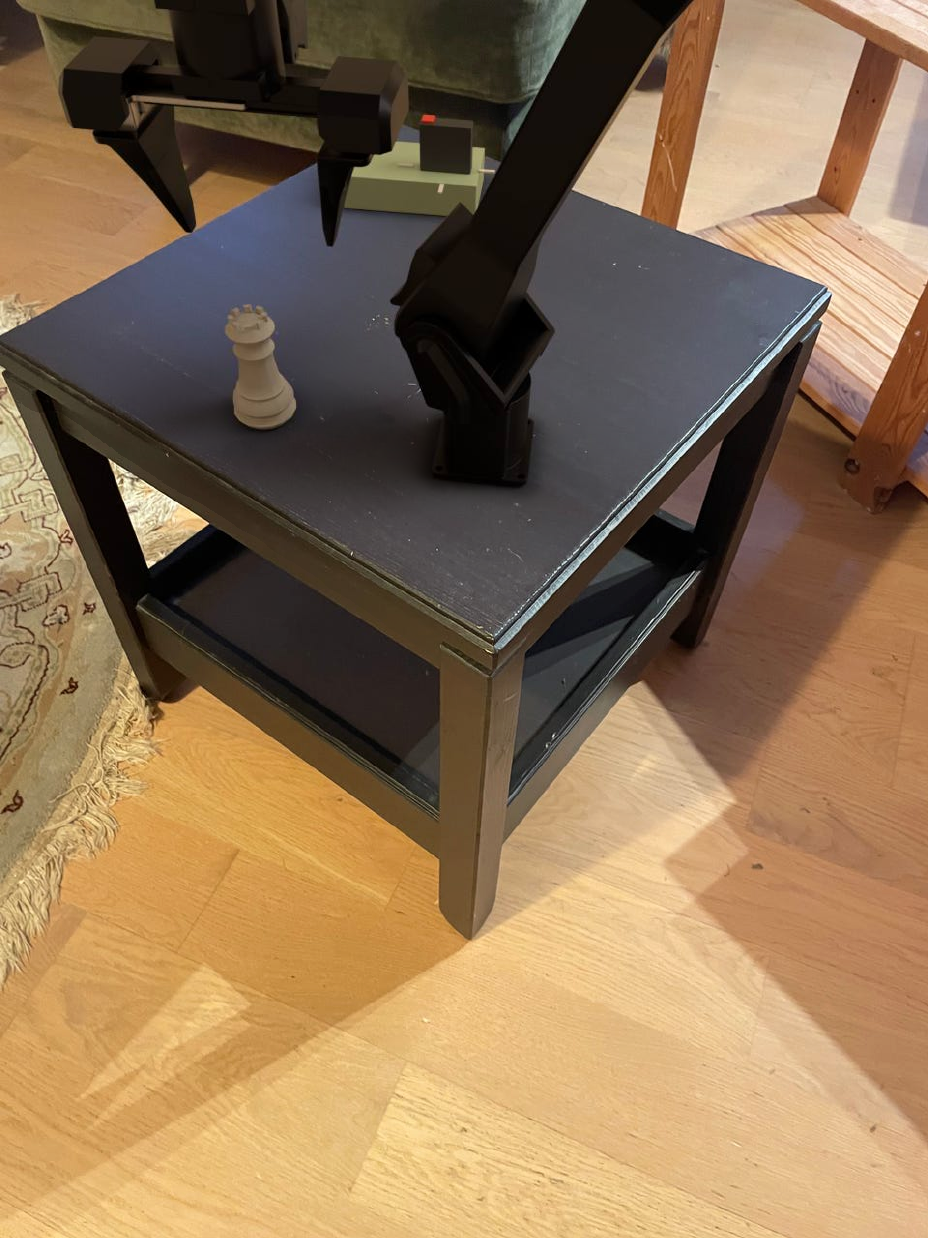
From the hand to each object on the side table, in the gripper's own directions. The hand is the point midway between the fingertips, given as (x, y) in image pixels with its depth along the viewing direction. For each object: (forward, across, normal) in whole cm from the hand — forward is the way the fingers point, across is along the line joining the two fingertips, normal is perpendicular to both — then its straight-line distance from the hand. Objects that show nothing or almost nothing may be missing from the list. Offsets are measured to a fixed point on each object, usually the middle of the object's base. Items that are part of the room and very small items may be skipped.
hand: (261, 236), depth 59 cm
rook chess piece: (+12, +1, +3) cm, 12 cm away
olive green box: (+12, -5, -28) cm, 31 cm away
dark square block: (+9, -7, -28) cm, 31 cm away
